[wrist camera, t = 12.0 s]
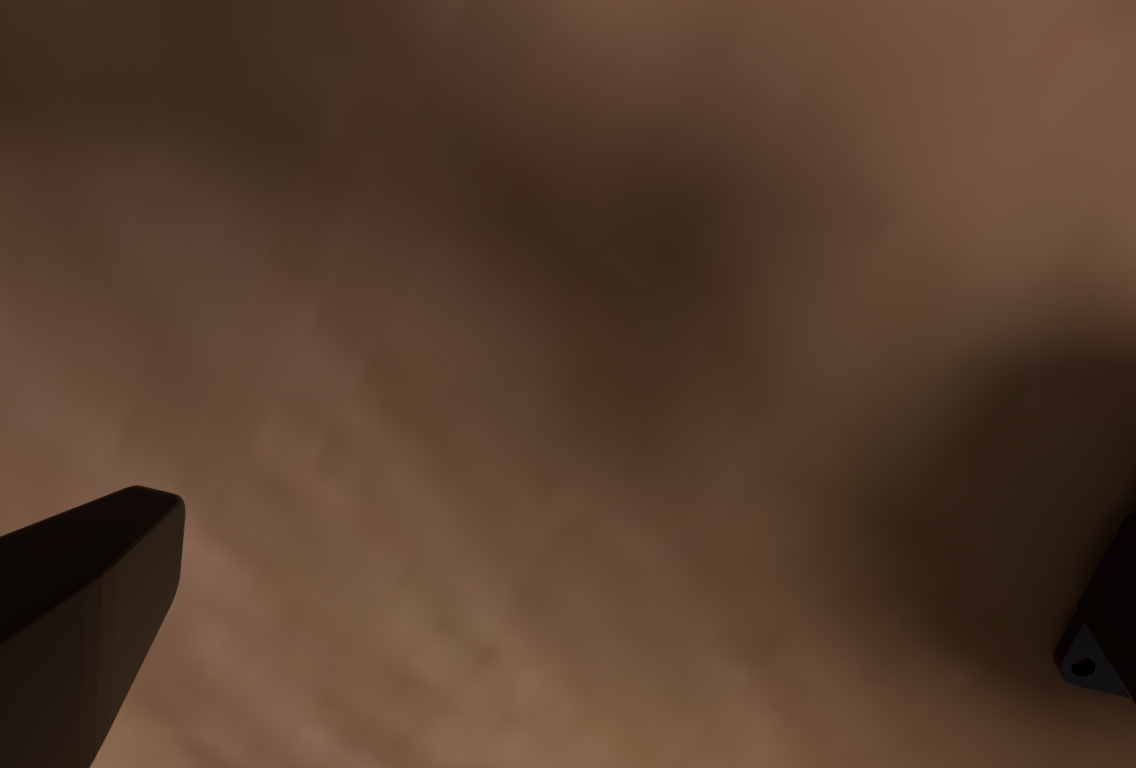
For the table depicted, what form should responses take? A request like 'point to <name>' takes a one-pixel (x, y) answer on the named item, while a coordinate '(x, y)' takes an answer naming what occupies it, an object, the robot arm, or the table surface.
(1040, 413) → the table surface
